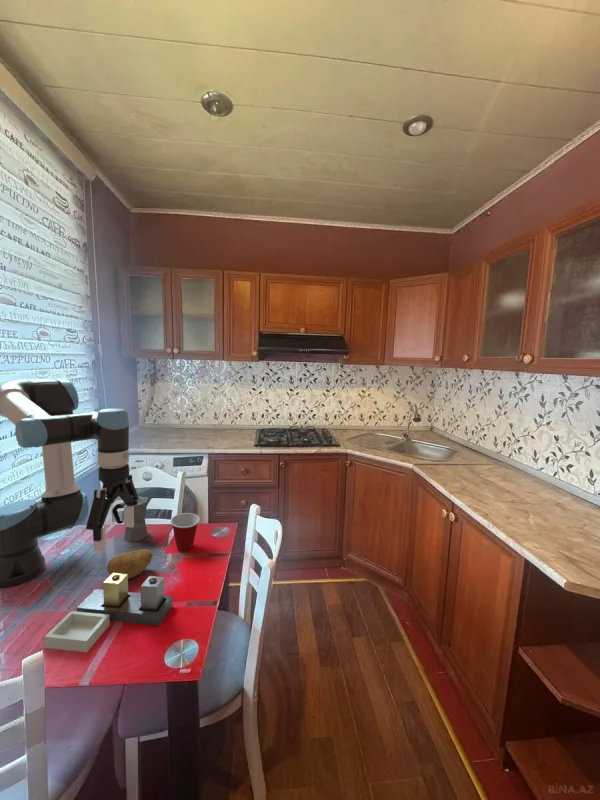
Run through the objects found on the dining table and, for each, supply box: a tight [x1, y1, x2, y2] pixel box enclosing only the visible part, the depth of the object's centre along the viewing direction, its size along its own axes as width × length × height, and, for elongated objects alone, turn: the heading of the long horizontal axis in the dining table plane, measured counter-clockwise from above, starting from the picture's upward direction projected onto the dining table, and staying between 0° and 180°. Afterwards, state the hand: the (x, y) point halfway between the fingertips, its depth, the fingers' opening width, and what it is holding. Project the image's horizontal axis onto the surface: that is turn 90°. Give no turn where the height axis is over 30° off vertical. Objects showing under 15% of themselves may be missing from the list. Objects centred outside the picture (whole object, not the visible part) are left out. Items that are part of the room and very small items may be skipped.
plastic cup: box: [170, 512, 201, 553], centre depth 134 cm, size 11×11×12 cm
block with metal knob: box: [102, 573, 129, 609], centre depth 99 cm, size 4×4×10 cm
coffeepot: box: [111, 493, 153, 542], centre depth 140 cm, size 15×9×18 cm, turn 138°
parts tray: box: [44, 610, 110, 653], centre depth 90 cm, size 11×9×3 cm
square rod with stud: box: [140, 575, 165, 612], centre depth 99 cm, size 4×4×10 cm
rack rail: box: [76, 588, 174, 627], centre depth 100 cm, size 24×8×3 cm, turn 86°
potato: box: [106, 548, 153, 580], centre depth 116 cm, size 10×14×8 cm
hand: (115, 538), depth 98 cm, fingers open, 13 cm apart
